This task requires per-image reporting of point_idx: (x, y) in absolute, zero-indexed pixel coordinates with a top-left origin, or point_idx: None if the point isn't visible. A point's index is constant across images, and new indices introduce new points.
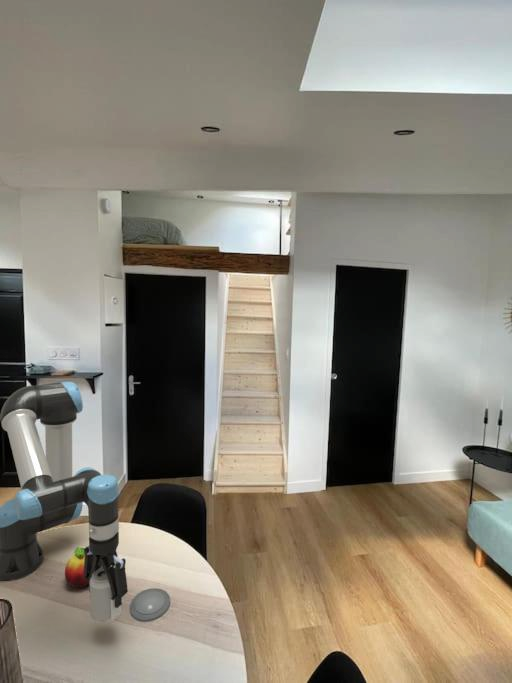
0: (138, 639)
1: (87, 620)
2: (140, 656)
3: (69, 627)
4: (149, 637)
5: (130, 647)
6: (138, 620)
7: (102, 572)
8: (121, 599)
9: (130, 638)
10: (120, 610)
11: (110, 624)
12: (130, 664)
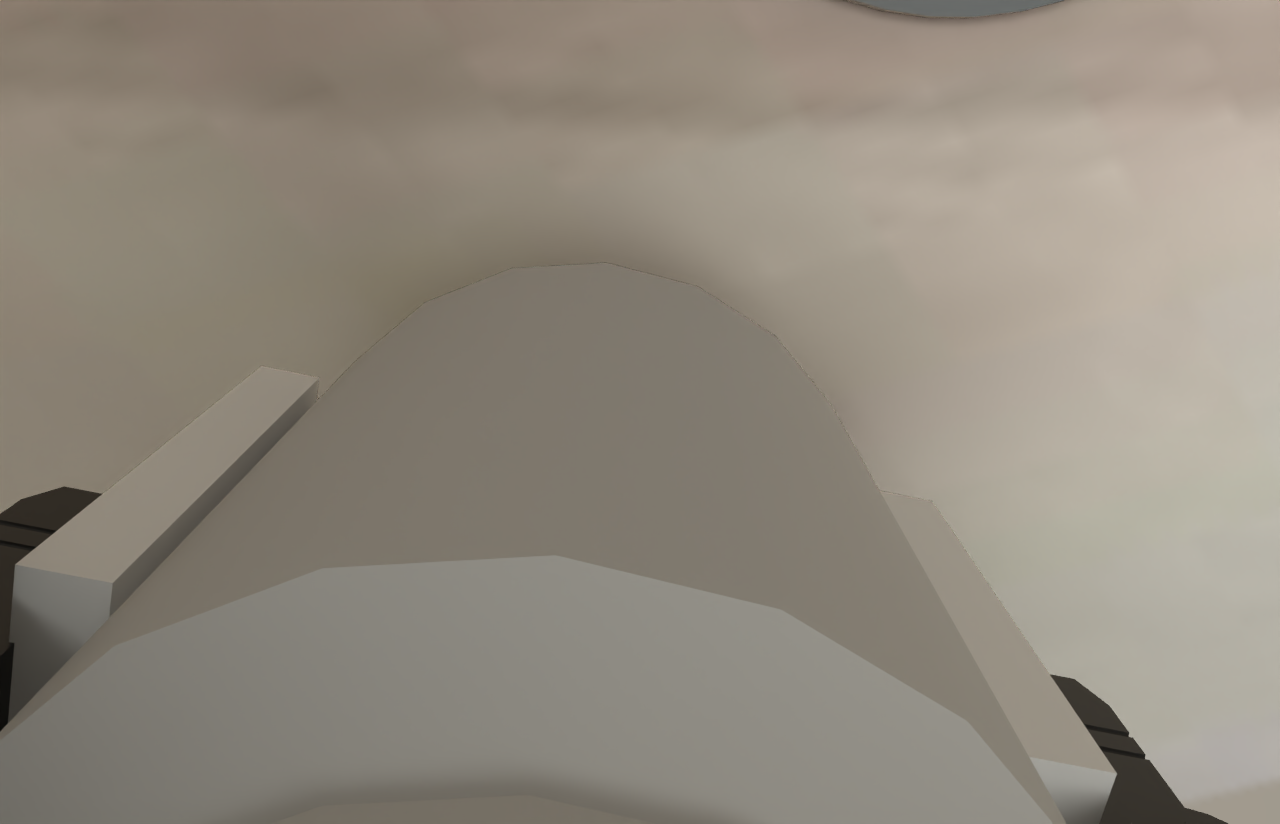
0: (1104, 319)
1: (161, 253)
2: (1253, 532)
3: (15, 430)
4: (1251, 244)
5: (1055, 458)
6: (935, 16)
7: (55, 685)
8: (1151, 771)
9: (981, 338)
10: (942, 521)
11: (547, 214)
12: (1176, 655)
